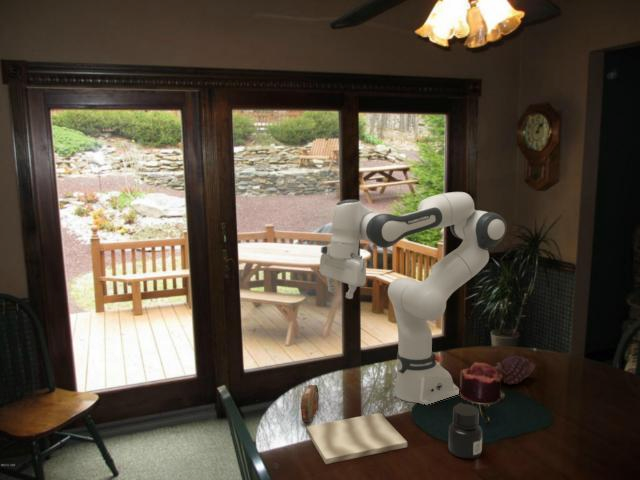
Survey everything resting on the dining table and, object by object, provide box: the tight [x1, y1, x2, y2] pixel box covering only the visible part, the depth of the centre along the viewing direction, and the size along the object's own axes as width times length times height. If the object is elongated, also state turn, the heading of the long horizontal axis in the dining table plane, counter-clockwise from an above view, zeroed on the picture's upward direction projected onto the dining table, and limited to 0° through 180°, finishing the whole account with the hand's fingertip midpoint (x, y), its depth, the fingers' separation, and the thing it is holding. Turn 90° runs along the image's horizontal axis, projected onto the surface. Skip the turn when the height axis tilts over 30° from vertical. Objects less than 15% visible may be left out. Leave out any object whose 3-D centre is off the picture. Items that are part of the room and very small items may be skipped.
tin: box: [300, 384, 319, 423], centre depth 165 cm, size 15×3×8 cm, turn 168°
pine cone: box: [491, 355, 536, 385], centre depth 185 cm, size 18×10×10 cm, turn 109°
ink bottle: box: [447, 403, 483, 459], centre depth 143 cm, size 10×9×12 cm
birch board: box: [305, 412, 408, 465], centre depth 151 cm, size 24×18×2 cm
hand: (340, 294), depth 165 cm, fingers open, 8 cm apart
